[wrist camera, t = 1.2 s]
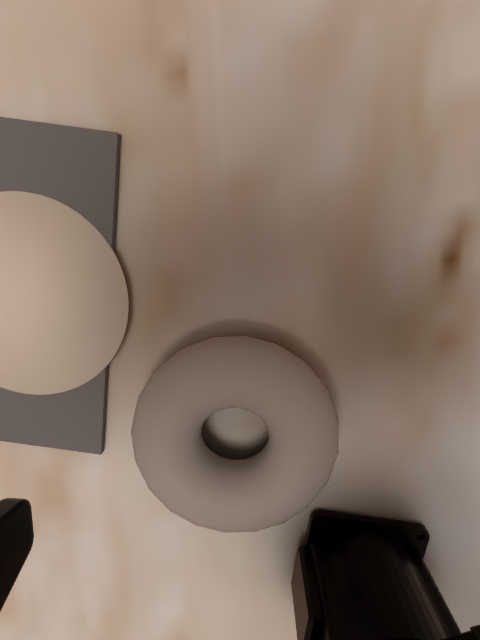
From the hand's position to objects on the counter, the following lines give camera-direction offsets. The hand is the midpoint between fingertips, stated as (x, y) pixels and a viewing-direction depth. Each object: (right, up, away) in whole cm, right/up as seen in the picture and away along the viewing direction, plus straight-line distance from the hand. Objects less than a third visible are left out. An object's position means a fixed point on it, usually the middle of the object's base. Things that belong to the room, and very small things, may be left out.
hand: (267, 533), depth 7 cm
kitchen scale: (-14, +6, +12) cm, 19 cm away
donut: (-3, +3, +10) cm, 11 cm away
